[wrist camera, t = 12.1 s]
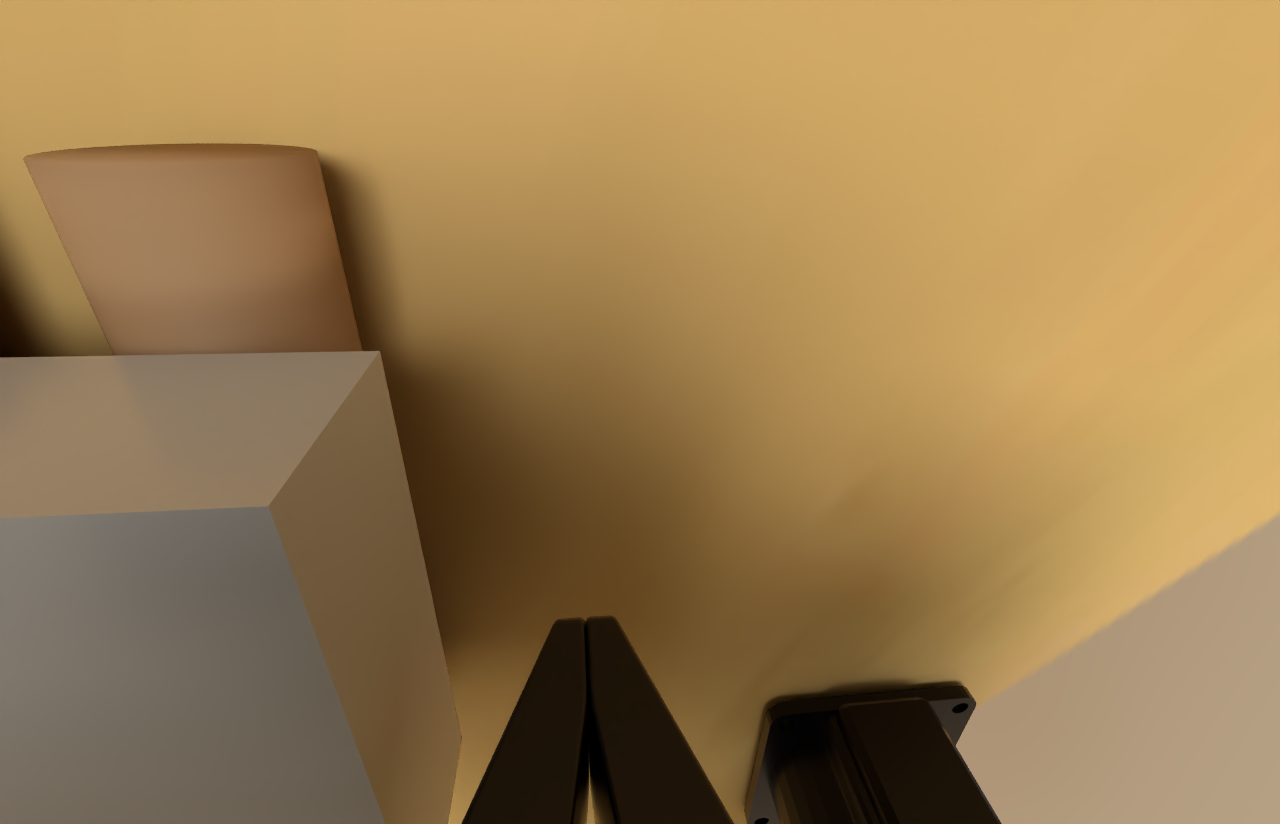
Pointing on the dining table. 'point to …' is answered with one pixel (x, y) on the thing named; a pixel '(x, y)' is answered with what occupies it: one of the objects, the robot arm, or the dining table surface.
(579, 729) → the robot arm
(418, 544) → the slab
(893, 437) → the dining table surface
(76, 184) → the roller track
